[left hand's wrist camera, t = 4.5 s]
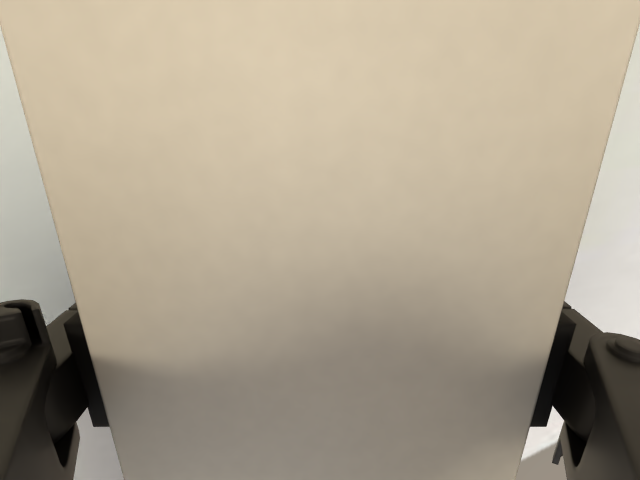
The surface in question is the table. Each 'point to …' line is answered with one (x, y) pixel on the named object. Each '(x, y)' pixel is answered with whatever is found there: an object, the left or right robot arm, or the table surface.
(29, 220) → the table surface
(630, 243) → the table surface
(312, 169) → the wide beam
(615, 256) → the table surface
